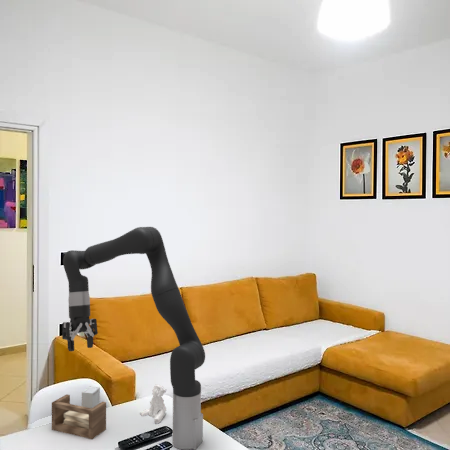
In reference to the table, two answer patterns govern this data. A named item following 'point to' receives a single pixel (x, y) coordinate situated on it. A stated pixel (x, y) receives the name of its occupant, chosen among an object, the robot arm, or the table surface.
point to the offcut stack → (76, 419)
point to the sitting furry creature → (156, 405)
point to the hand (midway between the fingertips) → (81, 349)
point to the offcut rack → (95, 414)
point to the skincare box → (91, 397)
